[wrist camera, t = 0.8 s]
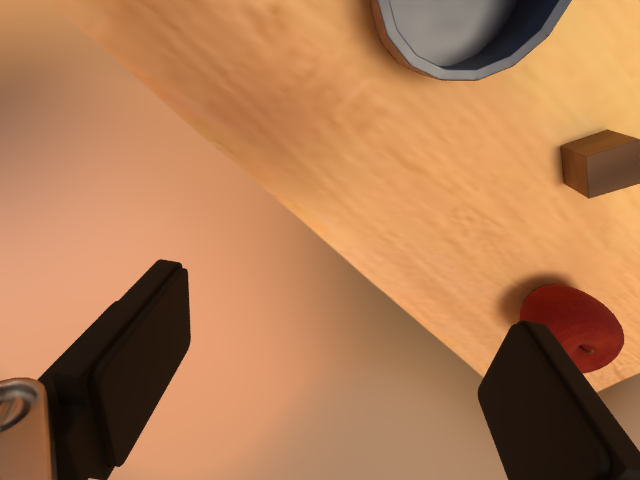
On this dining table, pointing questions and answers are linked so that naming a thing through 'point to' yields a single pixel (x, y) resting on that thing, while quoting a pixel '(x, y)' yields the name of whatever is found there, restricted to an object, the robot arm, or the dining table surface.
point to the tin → (463, 33)
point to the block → (601, 163)
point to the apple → (576, 324)
